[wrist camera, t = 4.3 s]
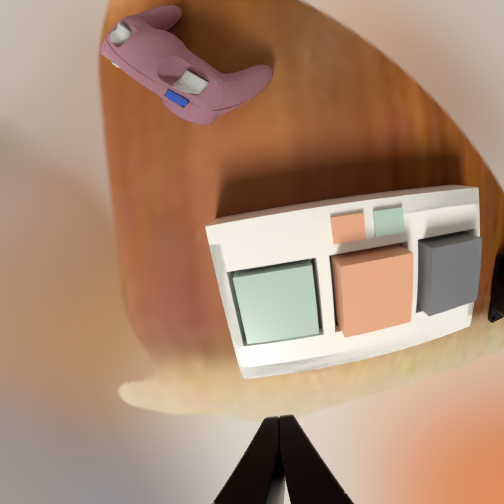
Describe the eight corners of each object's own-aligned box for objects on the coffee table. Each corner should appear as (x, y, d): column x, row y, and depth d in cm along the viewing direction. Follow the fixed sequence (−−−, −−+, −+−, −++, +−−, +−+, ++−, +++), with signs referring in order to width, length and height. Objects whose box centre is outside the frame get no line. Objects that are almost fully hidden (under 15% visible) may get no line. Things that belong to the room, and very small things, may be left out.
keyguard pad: (453, 184, 16) (480, 187, 13) (450, 309, 18) (471, 327, 15) (215, 218, 17) (204, 227, 14) (245, 353, 20) (242, 381, 17)
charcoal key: (463, 230, 14) (481, 237, 12) (460, 288, 15) (476, 300, 13) (414, 240, 15) (432, 248, 13) (413, 302, 16) (428, 316, 14)
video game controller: (148, 52, 16) (74, 57, 10) (178, 4, 13) (105, -10, 8) (241, 125, 17) (181, 150, 12) (285, 75, 14) (239, 70, 9)
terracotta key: (397, 243, 15) (413, 252, 13) (397, 306, 16) (410, 321, 14) (331, 255, 15) (340, 266, 13) (336, 319, 16) (344, 337, 14)
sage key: (306, 254, 16) (312, 265, 14) (314, 316, 17) (319, 333, 15) (236, 265, 17) (232, 277, 15) (249, 326, 18) (247, 344, 16)
